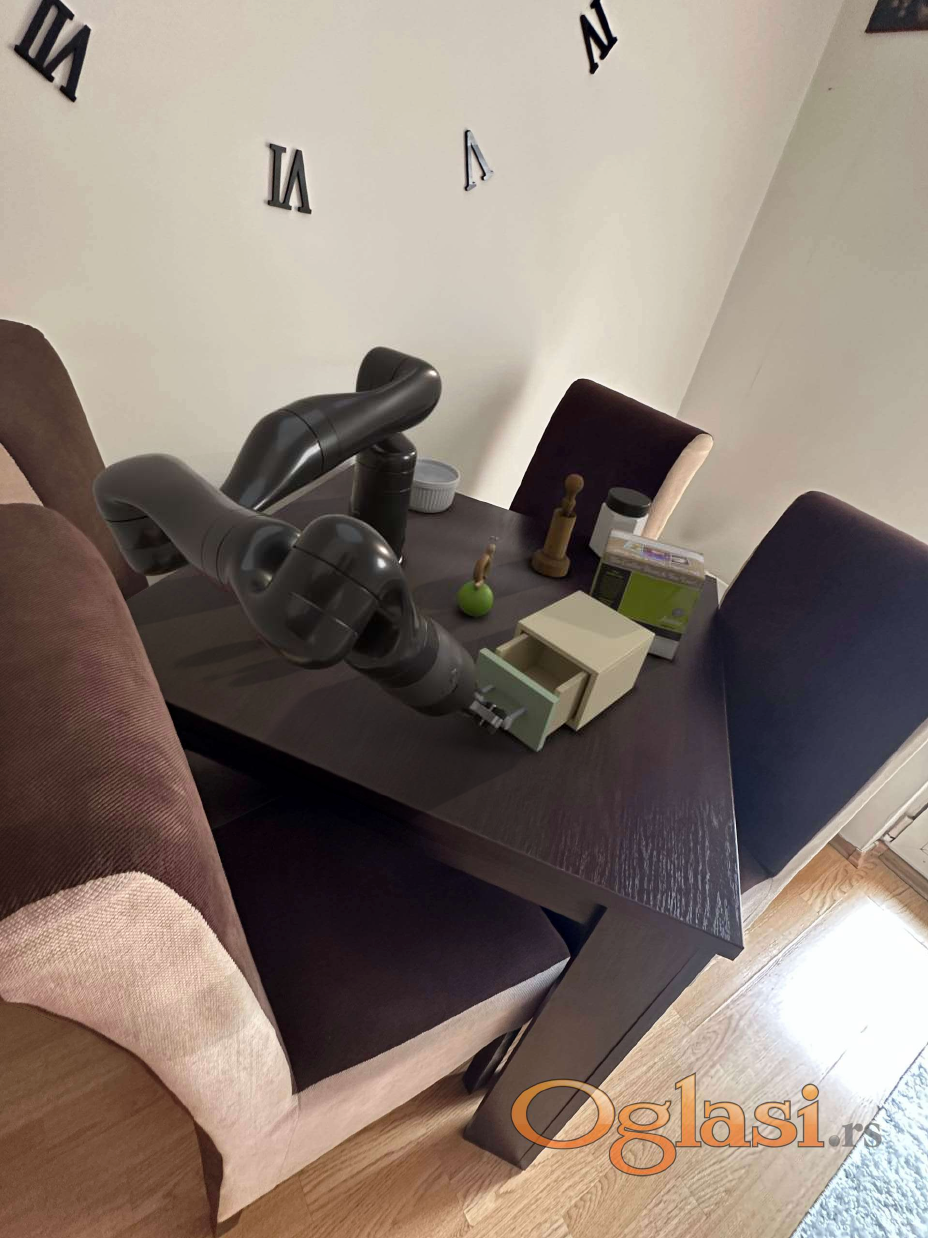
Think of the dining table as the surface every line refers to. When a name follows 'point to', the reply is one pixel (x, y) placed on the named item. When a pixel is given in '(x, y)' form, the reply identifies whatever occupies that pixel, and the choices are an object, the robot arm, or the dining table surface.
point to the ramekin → (433, 485)
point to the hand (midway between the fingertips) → (481, 711)
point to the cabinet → (592, 647)
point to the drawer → (531, 687)
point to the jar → (620, 516)
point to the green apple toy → (478, 587)
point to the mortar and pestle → (559, 534)
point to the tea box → (650, 585)
